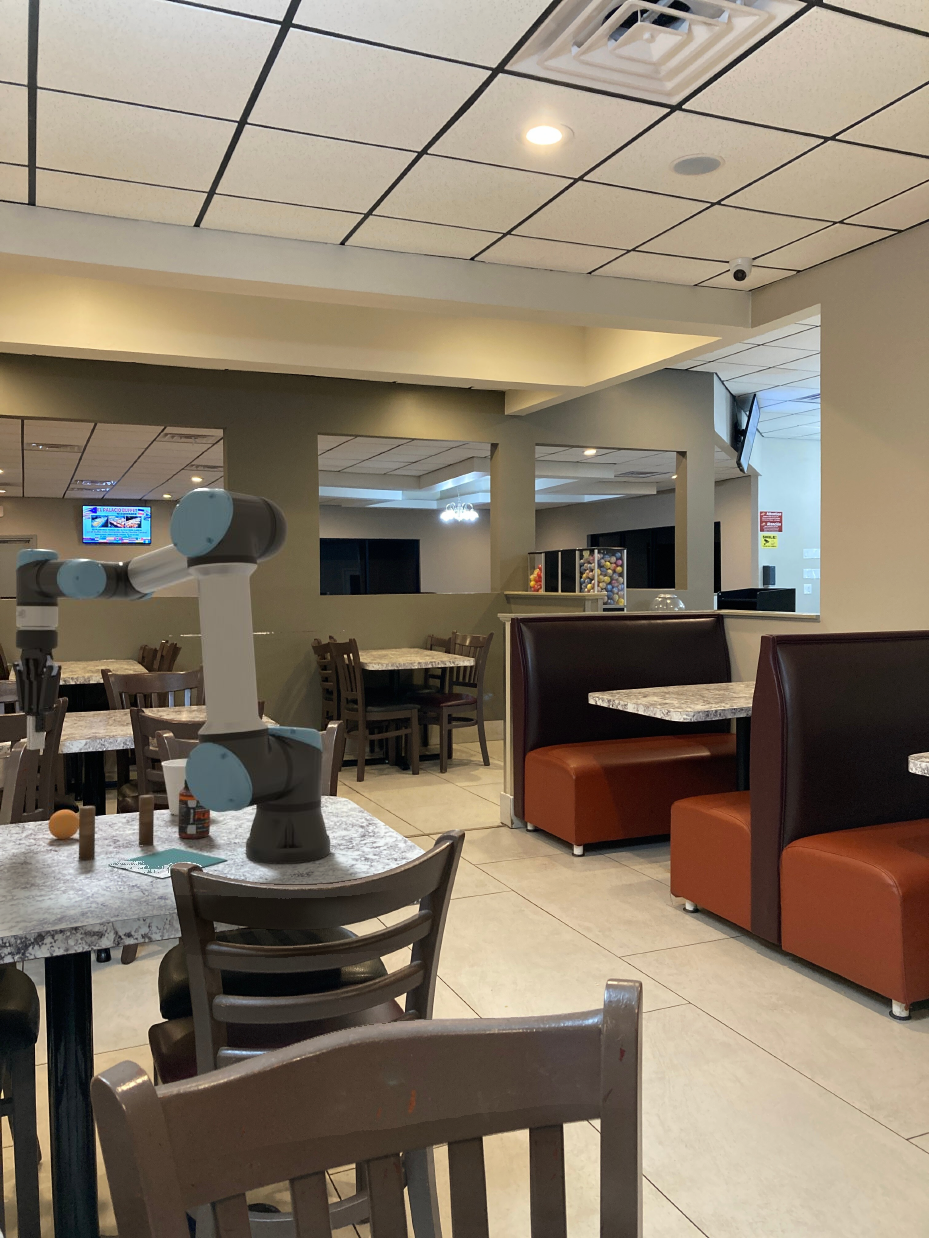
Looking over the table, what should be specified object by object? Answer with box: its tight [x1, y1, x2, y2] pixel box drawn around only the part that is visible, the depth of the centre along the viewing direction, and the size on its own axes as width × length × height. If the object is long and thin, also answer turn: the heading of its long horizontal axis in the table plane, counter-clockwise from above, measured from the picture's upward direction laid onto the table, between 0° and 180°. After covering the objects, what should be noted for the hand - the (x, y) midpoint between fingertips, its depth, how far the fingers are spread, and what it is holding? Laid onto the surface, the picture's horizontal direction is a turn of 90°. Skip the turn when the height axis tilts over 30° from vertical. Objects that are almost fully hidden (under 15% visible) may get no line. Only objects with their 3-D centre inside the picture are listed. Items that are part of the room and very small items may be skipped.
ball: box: [48, 809, 79, 840], centre depth 179 cm, size 6×6×6 cm
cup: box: [161, 758, 187, 816], centre depth 203 cm, size 10×10×11 cm
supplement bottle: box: [177, 778, 211, 840], centre depth 183 cm, size 6×6×11 cm
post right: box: [138, 794, 155, 847], centre depth 176 cm, size 3×3×9 cm
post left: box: [78, 805, 96, 861], centre depth 165 cm, size 3×3×9 cm
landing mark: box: [108, 847, 228, 873], centre depth 163 cm, size 14×14×1 cm
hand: (35, 748), depth 184 cm, fingers closed
